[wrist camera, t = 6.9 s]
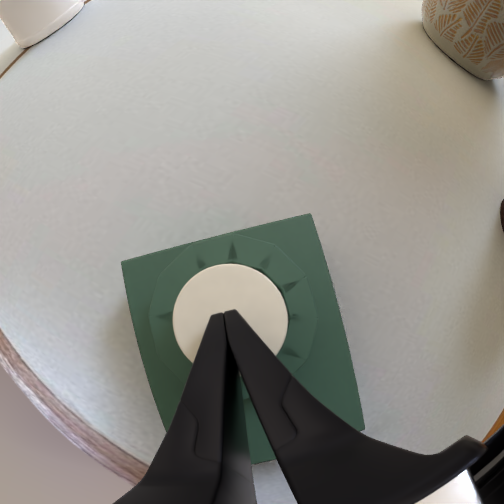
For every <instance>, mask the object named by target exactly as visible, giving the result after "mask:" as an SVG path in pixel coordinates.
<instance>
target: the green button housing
mask: <svg viewBox="0 0 504 504" xmlns="http://www.w3.org/2000/svg"><path fill="white" fill-rule="evenodd" d="M220 264H239V265H244V266H247V267H250V268H253V269H255V270H257V271H259V272H260V273H262V274H263V275H265V276H266V277H267V278H268V279H270V280H271V281H272V282H273V284H274V285H275V286H276V287H277V289H278V290H279V292H280V293H281V295H282V297H283V299H284V302H285V305H286V309H287V314H288V328H287V333H286V337H285V340H284V343H283V345H282V347H281V349H280V351H279V352H278V354H277V355H276V357H277V358H278V359H279V360H280V361H281V362H282V363H283V365H284V366H285V367H286V368H287V369H288V370H289V371H290V372H291V373H292V376H294V377H295V378H296V379H297V380H298V381H299V382H300V383H301V384H302V385H303V386H304V387H305V388H306V389H307V390H308V391H309V392H310V393H311V394H312V395H313V396H314V397H315V398H316V399H317V400H319V401H320V402H321V403H322V404H323V405H324V406H326V407H327V408H328V409H330V410H331V411H332V412H333V413H335V414H336V415H337V416H339V417H340V418H341V419H343V420H344V421H345V422H347V423H348V424H349V425H351V426H352V427H353V428H355V429H356V430H358V431H359V432H360V431H362V430H364V429H365V425H364V419H363V414H362V408H361V403H360V398H359V393H358V388H357V383H356V378H355V373H354V369H353V364H352V360H351V355H350V351H349V346H348V342H347V338H346V334H345V330H344V326H343V322H342V318H341V314H340V310H339V306H338V303H337V299H336V295H335V291H334V288H333V284H332V281H331V277H330V274H329V270H328V267H327V263H326V260H325V257H324V253H323V250H322V247H321V243H320V240H319V237H318V234H317V231H316V228H315V224H314V221H313V218H312V215H311V214H310V213H309V214H305V215H301V216H296V217H292V218H288V219H284V220H279V221H275V222H271V223H267V224H263V225H259V226H255V227H251V228H247V229H243V230H239V231H235V232H231V233H227V234H223V235H219V236H215V237H211V238H207V239H203V240H199V241H196V242H192V243H188V244H184V245H180V246H177V247H173V248H169V249H165V250H162V251H158V252H154V253H150V254H147V255H143V256H140V257H136V258H132V259H129V260H125V261H122V262H121V265H122V271H123V277H124V283H125V288H126V293H127V298H128V303H129V308H130V313H131V317H132V322H133V326H134V330H135V334H136V338H137V342H138V346H139V350H140V354H141V357H142V361H143V364H144V368H145V371H146V375H147V378H148V381H149V384H150V387H151V390H152V394H153V397H154V400H155V402H156V405H157V408H158V411H159V414H160V417H161V419H162V422H163V425H164V427H165V430H166V432H167V431H168V429H169V427H170V424H171V422H172V419H173V417H174V414H175V412H176V409H177V406H178V403H179V401H180V398H181V395H182V392H183V390H184V387H185V384H186V381H187V378H188V376H189V373H190V370H191V367H192V365H193V363H192V362H191V361H190V360H189V359H188V358H187V357H186V356H185V355H184V353H183V352H182V350H181V349H180V347H179V345H178V343H177V340H176V337H175V334H174V329H173V311H174V306H175V303H176V300H177V297H178V295H179V293H180V291H181V290H182V288H183V287H184V286H185V284H186V283H187V282H188V281H189V280H190V279H191V278H192V277H193V276H195V275H196V274H198V273H199V272H201V271H202V270H205V269H207V268H209V267H212V266H215V265H220ZM240 378H241V387H242V395H243V404H244V412H245V421H246V429H247V437H248V444H249V452H250V459H251V465H252V464H257V463H261V462H266V461H270V460H274V459H276V457H275V454H274V452H273V450H272V448H271V446H270V443H269V441H268V439H267V437H266V434H265V432H264V430H263V427H262V425H261V423H260V421H259V418H258V416H257V414H256V411H255V409H254V406H253V404H252V402H251V399H250V397H249V394H248V392H247V389H246V387H245V384H244V382H243V380H242V377H240Z"/></svg>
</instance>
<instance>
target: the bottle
mask: <svg viewBox="0 0 504 504" xmlns="http://www.w3.org/2000/svg"><path fill="white" fill-rule="evenodd" d="M83 6H84V0H0V18H1V20H2V22H3V23H4V25H5V26H6V27H7V29H8V30H9V32H10V33H11V35H12V36H13V38H14V39H15V42H16V43H17V44H18V45H19V46H20V47H21V48H26V47H29V46H31V45H34V44H36V43H38V42H39V41H41V40H43V39H44V38H46V37H47V36H49V35H51V34H52V33H53V32H55V31H56V30H58V29H59V28H61V27H62V26H63V25H64V24H66V23H67V22H68V21H69V20H71V19H72V18H73V17H74V16H75V15H76V14H77V13H78V12H79V11H80V10H81V9H82V7H83Z"/></svg>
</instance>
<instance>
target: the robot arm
mask: <svg viewBox="0 0 504 504" xmlns="http://www.w3.org/2000/svg"><path fill="white" fill-rule="evenodd" d="M240 374H241V377H242V380H243V382H244V384H245V387H246V389H247V392H248V394H249V397H250V399H251V402H252V404H253V406H254V409H255V411H256V414H257V416H258V418H259V421H260V423H261V425H262V427H263V430H264V432H265V434H266V437H267V439H268V441H269V443H270V446H271V448H272V450H273V452H274V454H275V457H276V459H277V461H278V463H279V465H280V467H281V470H282V472H283V474H284V476H285V478H286V480H287V482H288V485H289V487H290V489H291V491H292V493H293V495H294V497H295V499H296V501H297V503H298V504H504V425H502V426H501V427H500V428H499V429H498V430H497V431H496V432H495V433H494V434H493V435H492V436H491V437H489V438H488V439H487V440H486V441H485V442H484V443H482V442H480V441H478V440H476V439H474V438H472V437H470V436H467V435H466V436H463V437H462V438H461V439H459V440H458V441H456V442H455V443H453V444H452V445H450V446H449V447H447V448H446V449H444V450H443V451H441V452H440V453H438V454H434V455H423V454H418V453H415V452H412V451H408V450H405V449H402V448H399V447H396V446H393V445H390V444H387V443H384V442H381V441H378V440H375V439H373V438H370V437H368V436H366V435H364V434H363V433H361V432H359V431H358V430H356V429H355V428H353V427H352V426H351V425H349V424H348V423H347V422H345V421H344V420H343V419H341V418H340V417H339V416H337V415H336V414H335V413H333V412H332V411H331V410H330V409H328V408H327V407H326V406H324V405H323V404H322V403H321V402H320V401H319V400H317V399H316V398H315V397H314V396H313V395H312V394H311V393H310V392H309V391H308V390H307V389H306V388H305V387H304V386H303V385H302V384H301V383H300V382H299V381H298V380H297V379H296V378H295V377H294V376H292V373H291V372H290V371H289V370H288V369H287V368H286V367H285V366H284V365H283V363H282V362H281V361H280V360H279V359H278V358H277V357H276V355H275V354H274V353H273V352H272V351H271V350H270V349H269V347H268V346H267V345H266V344H265V343H264V342H263V340H262V339H261V338H260V337H259V336H258V335H257V333H256V332H255V331H254V330H253V329H252V328H251V326H250V325H249V324H248V323H247V322H246V320H245V319H244V318H243V317H242V316H241V314H240V313H239V312H238V311H237V310H236V309H232V310H228V311H225V312H224V313H222V312H220V313H216V314H212V315H211V316H210V318H209V321H208V324H207V327H206V329H205V332H204V335H203V337H202V340H201V343H200V345H199V348H198V351H197V354H196V356H195V359H194V362H193V365H192V367H191V370H190V373H189V376H188V378H187V381H186V384H185V387H184V390H183V392H182V395H181V398H180V401H179V403H178V406H177V409H176V412H175V414H174V417H173V419H172V422H171V424H170V427H169V429H168V431H167V433H166V435H165V437H164V439H163V441H162V443H161V445H160V447H159V449H158V451H157V453H156V455H155V457H154V459H153V461H152V463H151V465H150V467H149V469H148V471H147V473H146V474H145V476H144V477H143V478H142V480H141V481H140V482H139V483H138V484H137V485H136V486H135V487H134V488H132V489H131V490H130V491H129V492H127V493H126V494H125V495H124V496H122V497H121V498H120V499H118V500H117V501H116V502H115V503H113V504H257V502H256V495H255V488H254V484H253V483H254V481H253V474H252V467H251V459H250V452H249V444H248V437H247V429H246V421H245V412H244V404H243V395H242V387H241V378H240Z"/></svg>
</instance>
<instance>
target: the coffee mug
mask: <svg viewBox="0 0 504 504" xmlns="http://www.w3.org/2000/svg"><path fill="white" fill-rule="evenodd" d="M500 214H501V223H502V227H503V231H504V199H503V201H502V203H501V211H500Z"/></svg>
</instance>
